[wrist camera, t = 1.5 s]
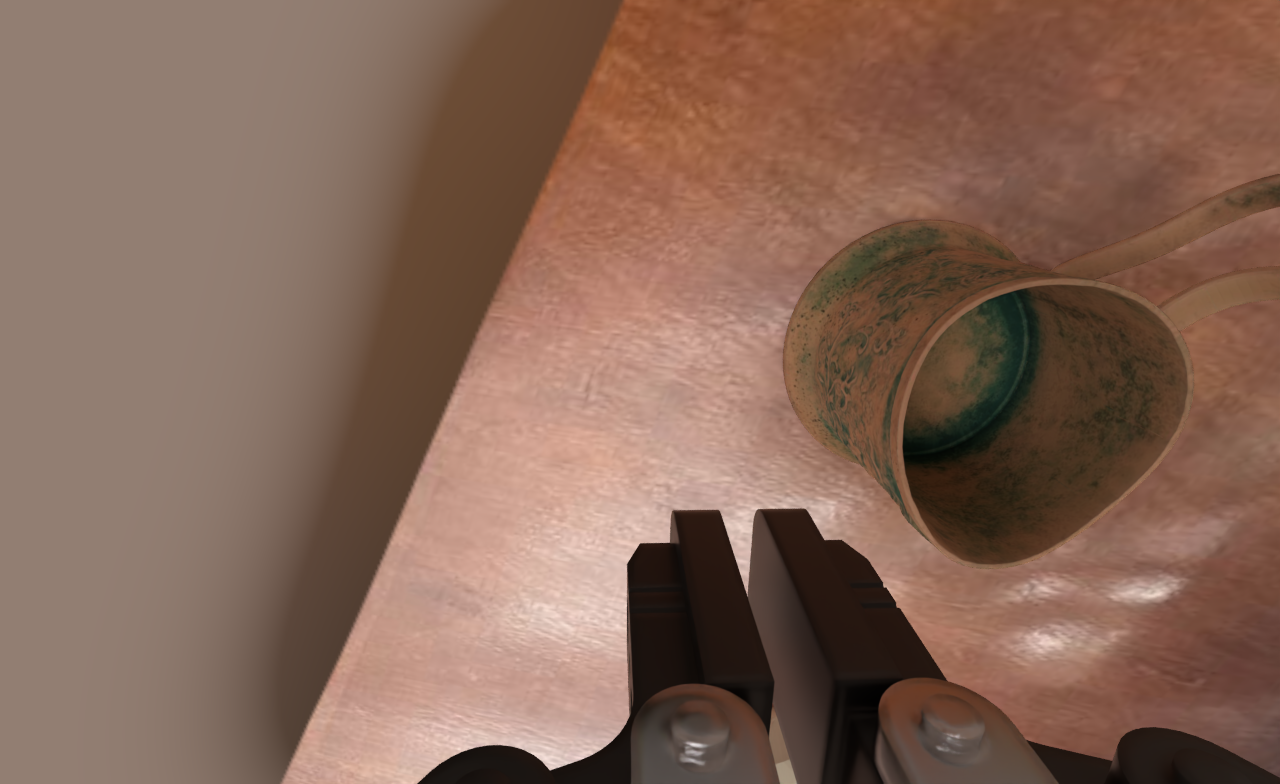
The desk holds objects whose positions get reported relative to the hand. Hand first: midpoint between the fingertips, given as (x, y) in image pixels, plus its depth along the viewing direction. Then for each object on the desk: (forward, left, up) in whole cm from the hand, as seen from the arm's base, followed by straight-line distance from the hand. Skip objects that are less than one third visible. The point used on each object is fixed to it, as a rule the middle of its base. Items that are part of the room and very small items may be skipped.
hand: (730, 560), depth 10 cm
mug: (0, +14, -19) cm, 24 cm away
